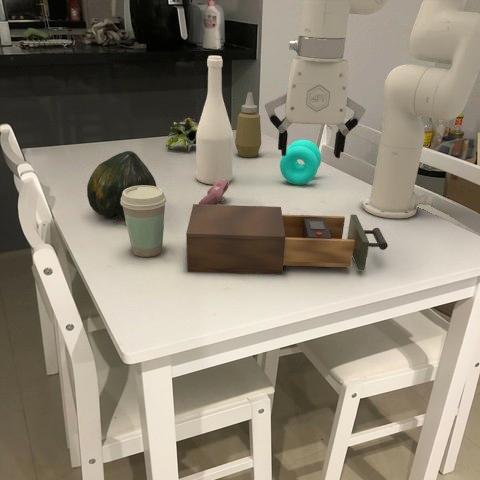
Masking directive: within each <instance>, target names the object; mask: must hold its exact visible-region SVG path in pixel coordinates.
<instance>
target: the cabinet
mask: <svg viewBox="0 0 480 480" xmlns="http://www.w3.org/2000/svg"><path fill="white" fill-rule="evenodd" d="M191 207H192V208H191V211H190V216H189V220H188V224H187V228H186V233H185V235H186V237H185V239H186V240H185V241H186V271H187V272H194V273H196V272H197V273H198V272H199V273H200V272H201V273H227V274H229V273H230V274H264V275H265V274H266V275H283V271H284V265H283V260H284V248H285V230H284V224H283V217H282V215H283V211H282V206H270V205H269V206H267V205H265V206H264V205H235V204H217V205H206V204H199V203H193V204H192V206H191Z"/></svg>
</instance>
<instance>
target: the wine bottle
mask: <svg viewBox="0 0 480 480" xmlns="http://www.w3.org/2000/svg"><path fill="white" fill-rule="evenodd" d="M206 60H207V61H206V63H207V64H206V65H207V68H208V71H207V94H206V99H205V102H204V105H203V109H202V112H201V116H200V119H199V122H198V129H197V133H196V144H195V157H196V159H195V160H196V161H195V162H196V178H197V180H198V181H199V182H201V184H205V185H211V186H213V185H214V183H215V182H216V181H218V180H221V179H223V180H227V181H228V182H229V183H230V182H231V180H232V179H233V165H234V163H233V160H234V155H233V154H234V133H233V129H232V125H231V122H230V118H229V116H228V115H229V114H228V112H227V108H226V104H225V102H224V97H223V89H222V88H223V84H222V83H223V82H222V81H223V79H222V78H223V76H222V68H223V63H224V62H223V58H222V56H221V55H208V57H207V59H206Z"/></svg>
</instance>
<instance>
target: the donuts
mask: <svg viewBox="0 0 480 480" xmlns="http://www.w3.org/2000/svg"><path fill="white" fill-rule="evenodd" d="M299 160H300V161H302V162H303V164H301V163H300V162H299ZM279 161H280V162H279V168H280V173H281V175H282V177H283V178H284V179H285V180H286V181H287V182H288V183H289V184H293V185H297V186H301V185H302V186H303V185H305V184H308V183H309V182H311V181H313V179H314V178H315V177H316V175H317V173H318V170H319V168H320V165H321V162H322V154H321V151H320V148H319V147H318V146H317V145H316V143H314V142H312V141H311V140H309V139H298V140H295V141H292V142H291V143H290V144H289V146H287V150H286V155H285V156H282V155H281V158H280V160H279Z"/></svg>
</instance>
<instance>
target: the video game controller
mask: <svg viewBox="0 0 480 480" xmlns="http://www.w3.org/2000/svg"><path fill="white" fill-rule="evenodd" d="M230 184H231V183H230V181H229V182H228V181H227V180H223V179H221V180H218V181H216V182H215V183H214V185H212V186H211V187H209V188H208V190H207V191H206V194H207V195H205V196H204V197H203V198H201V199H200V200H199V201H198V204H206V205H219V204H218V203H220V201H224V200H225V196H224V195H225V193H226V192H227V191H228V189H229V187H230Z"/></svg>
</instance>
